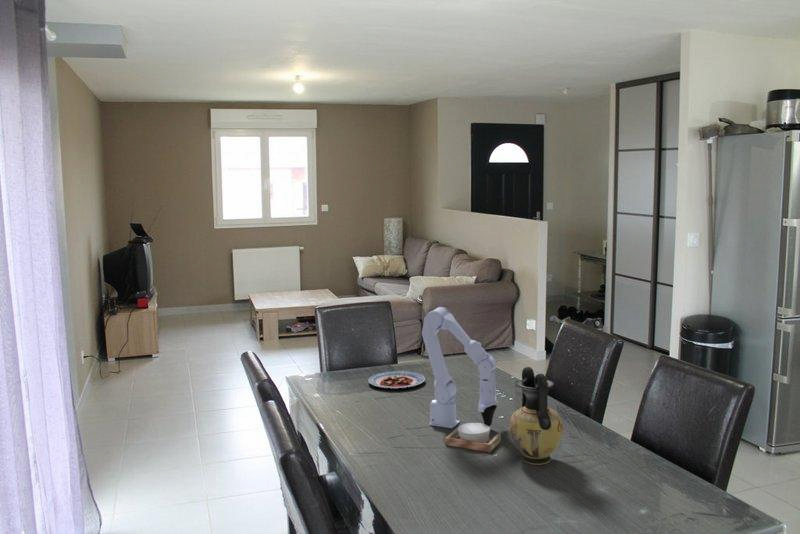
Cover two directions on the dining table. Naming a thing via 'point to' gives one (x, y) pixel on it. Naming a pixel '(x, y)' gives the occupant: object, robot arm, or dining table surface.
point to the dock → (471, 442)
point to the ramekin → (474, 432)
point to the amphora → (535, 420)
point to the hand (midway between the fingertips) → (488, 425)
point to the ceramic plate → (396, 379)
